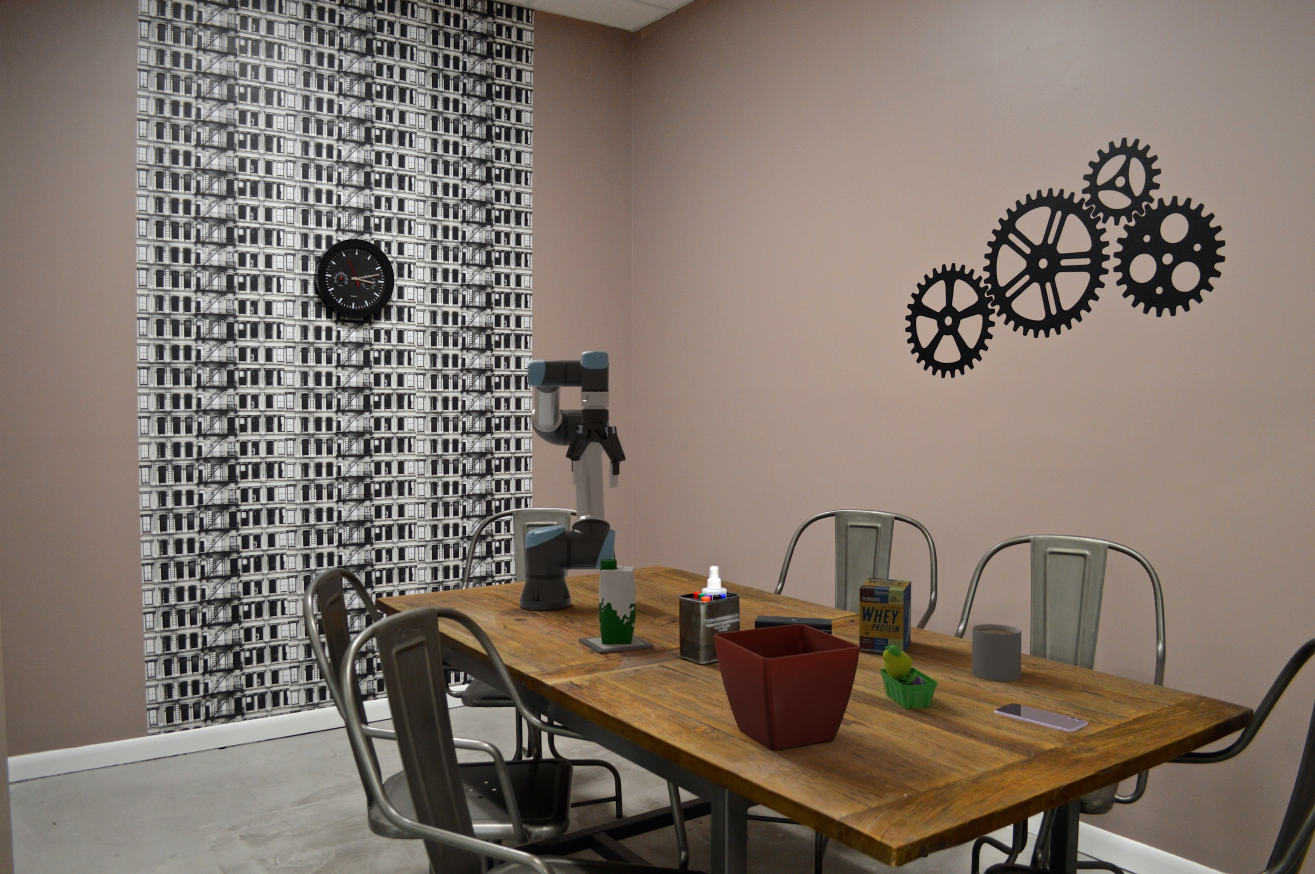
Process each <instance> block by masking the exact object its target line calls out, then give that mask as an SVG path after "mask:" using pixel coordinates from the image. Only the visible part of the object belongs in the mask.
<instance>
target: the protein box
mask: <svg viewBox="0 0 1315 874" xmlns="http://www.w3.org/2000/svg"><path fill="white" fill-rule="evenodd" d="M858 589H859V591H858V593H859V594H858V598H859V599H858V601H859V603H858V604H859V605H858V607H859V608H858V612H859V613H858V645H859V646H860V652H859V653H867V654H877V655H883V653H884V651H885V650H886V648H885V647H886V646H891V645H896V646H898V647H899V649H900V650H901V651H903V652H904V653H906V651H907V650H908V648H909V646H910V644H911V642H912V637H911V635H912V634H911V633H912V629H911V628H912V581H911V580H904V579H891V578H890V579H889V578H877V577H869V578H868V579H866V581H865V582H864V583H863V584H862V585H861V586H860V587H859V588H858Z"/></svg>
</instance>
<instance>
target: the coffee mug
mask: <svg viewBox="0 0 1315 874" xmlns="http://www.w3.org/2000/svg"><path fill="white" fill-rule="evenodd" d="M971 630H972V632H971V633H972V635H971V641H972V643H971V649H972V651H971V655H972V656H971V666H972V667H971V674H972V675H973V676H974V677H976V678H979V679H982V680H985V681H992V682H1008V683H1009V682H1016V681H1018V680H1021V678H1022V630H1021V629H1020V628H1019V627H1015V626H1011V625H1007V624H999V623H997V624H995V623H983V624H974V625H973V626H972V629H971Z"/></svg>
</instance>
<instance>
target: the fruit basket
mask: <svg viewBox="0 0 1315 874" xmlns="http://www.w3.org/2000/svg"><path fill="white" fill-rule="evenodd" d="M885 648H886V650H885V651H884V653H883V654H882V658H883V665H884V666H883V667H884V668H880V669H879V672H880V675H881V678H882V681H883V686H884V689H885V694H886V696H888V697H889V698H891V699H892V701H894V702H896V703H897V704H898V705H899V706H901V707H902V708H904V709H906V710H907V709H922V708H931V706H932V705H931V704H932V701H933V697H934V693H935V691H936V688H937V686H938V681H936V680H935V679H934V678H932V677H930V676H928V675H927V674H925V673H924V672H922V671H920V670H919V669H917V668H916V667H912V665H913V659H912V657H911V656H909V655H908V654H907V653H906V652H905V653H904V652H903V651H901V650H900V649H899V647H898V646H896V645H891V646H886V647H885Z"/></svg>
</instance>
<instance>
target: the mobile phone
mask: <svg viewBox="0 0 1315 874" xmlns="http://www.w3.org/2000/svg"><path fill="white" fill-rule="evenodd" d="M994 714H997V715H1000V716H1005V717H1007V718H1012V719H1015V720H1020V721H1022V722H1023V721H1024V722H1028V723H1031V724H1035V725H1040V726H1042V727H1043V726H1044V727H1047V728H1050V729H1055V730H1058V731H1063V732H1067V733H1068V732H1069V733H1071V732H1075V731H1077V730H1079V729H1082V728H1085V727H1086V726H1088V725H1089V724H1088V723H1089V722H1088V721H1087V720H1085V719H1081V718H1078V717H1074V716H1069V715H1065V714H1061V713H1057V712H1053V711H1048V710H1045V709H1040V708H1037V707H1032V706H1027V705H1023V704H1019V703H1014V702H1013V703H1012V702H1011V703H1008V704H1005V705H1003V706H1000V707H998V708H996V709H995V710H994Z"/></svg>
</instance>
